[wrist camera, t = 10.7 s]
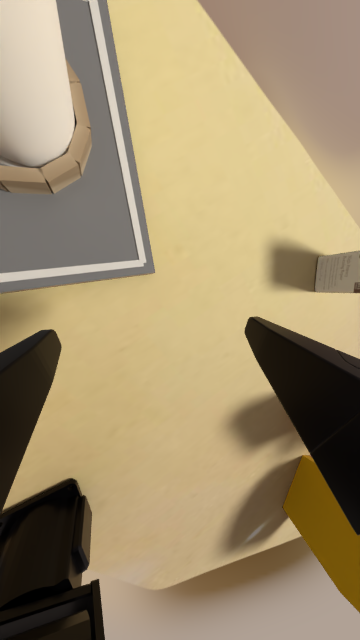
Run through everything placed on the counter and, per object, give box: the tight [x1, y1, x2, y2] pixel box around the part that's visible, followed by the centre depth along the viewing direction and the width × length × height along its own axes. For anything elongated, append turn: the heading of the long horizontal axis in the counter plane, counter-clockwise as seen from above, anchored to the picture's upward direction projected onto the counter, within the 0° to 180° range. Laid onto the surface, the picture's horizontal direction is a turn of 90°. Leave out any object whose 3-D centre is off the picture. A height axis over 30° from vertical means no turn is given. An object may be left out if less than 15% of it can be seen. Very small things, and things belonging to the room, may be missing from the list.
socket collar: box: [0, 58, 92, 194], centre depth 11 cm, size 10×10×2 cm
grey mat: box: [0, 0, 155, 294], centre depth 12 cm, size 16×20×1 cm
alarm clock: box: [283, 455, 360, 612], centre depth 29 cm, size 15×8×18 cm, turn 156°
